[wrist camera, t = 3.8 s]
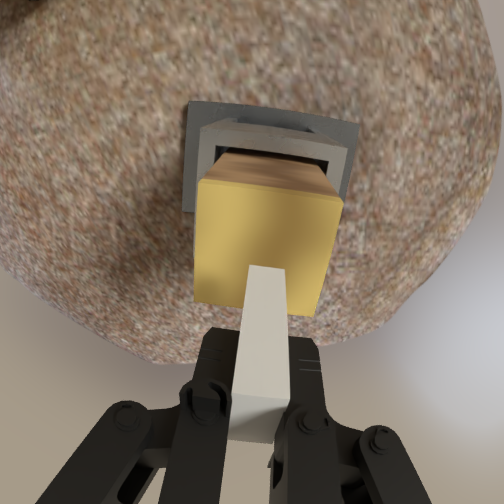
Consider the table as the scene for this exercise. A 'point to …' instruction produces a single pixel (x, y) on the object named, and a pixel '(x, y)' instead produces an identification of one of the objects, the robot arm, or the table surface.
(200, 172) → the chute
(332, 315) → the table surface
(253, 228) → the block
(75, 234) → the table surface
